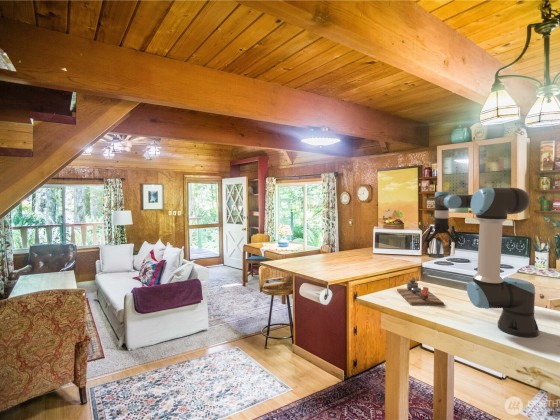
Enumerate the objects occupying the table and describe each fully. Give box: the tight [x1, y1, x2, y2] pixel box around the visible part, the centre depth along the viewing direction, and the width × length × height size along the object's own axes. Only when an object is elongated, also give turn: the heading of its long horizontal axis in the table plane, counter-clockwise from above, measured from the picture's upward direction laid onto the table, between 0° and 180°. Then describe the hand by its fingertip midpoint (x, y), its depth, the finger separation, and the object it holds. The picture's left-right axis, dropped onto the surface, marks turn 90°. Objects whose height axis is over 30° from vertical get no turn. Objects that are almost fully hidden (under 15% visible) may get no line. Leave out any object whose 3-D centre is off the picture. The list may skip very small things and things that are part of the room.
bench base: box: [396, 276, 445, 306], centre depth 196 cm, size 26×18×10 cm
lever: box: [410, 286, 429, 299], centre depth 195 cm, size 20×6×7 cm, turn 177°
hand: (441, 253), depth 196 cm, fingers open, 13 cm apart
